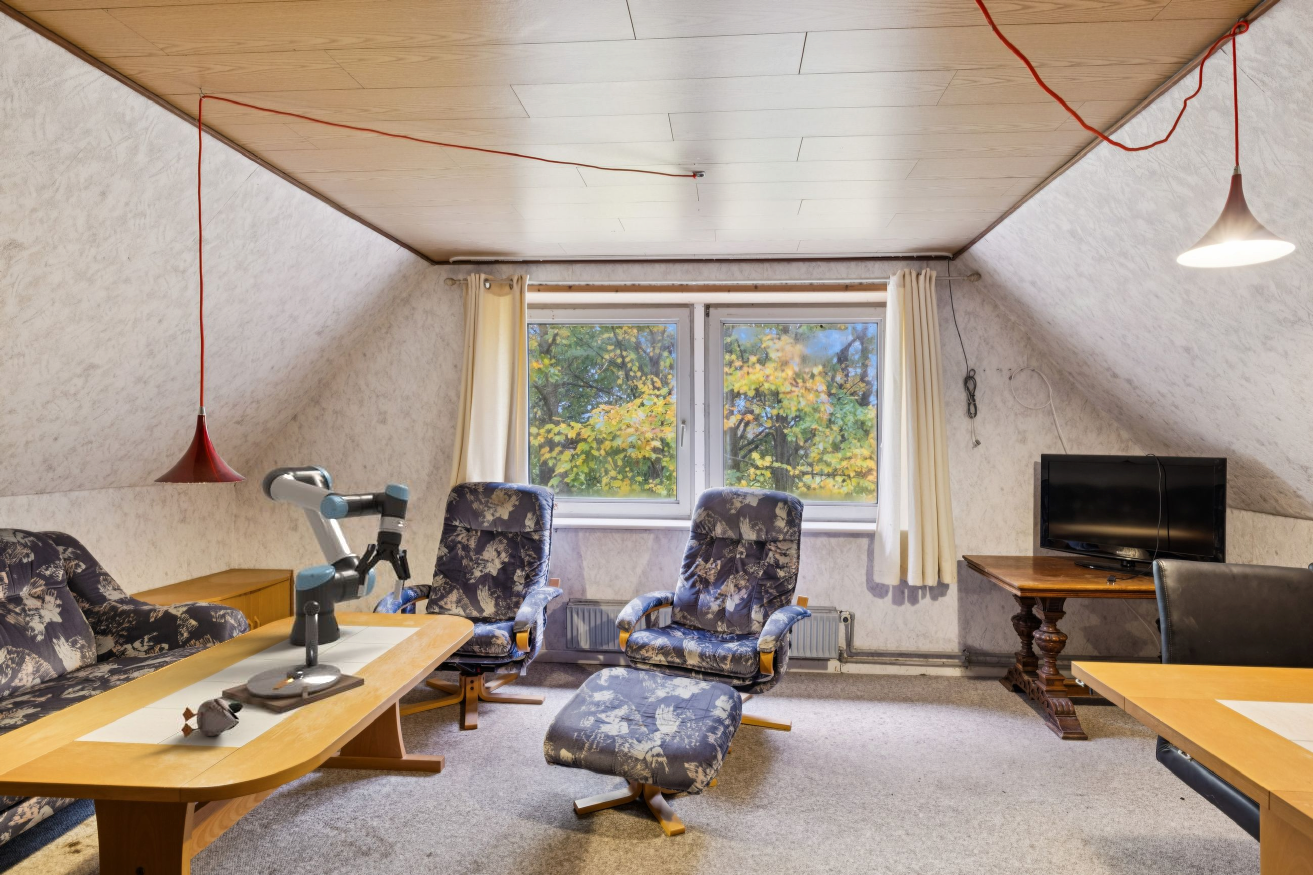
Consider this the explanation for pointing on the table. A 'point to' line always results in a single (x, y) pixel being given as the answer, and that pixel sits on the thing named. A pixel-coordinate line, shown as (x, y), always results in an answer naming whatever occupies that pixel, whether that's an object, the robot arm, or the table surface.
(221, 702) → the decorative duck model
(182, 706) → the table surface
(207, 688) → the table surface
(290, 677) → the dial
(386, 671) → the table surface
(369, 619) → the table surface
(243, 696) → the walnut stand board
